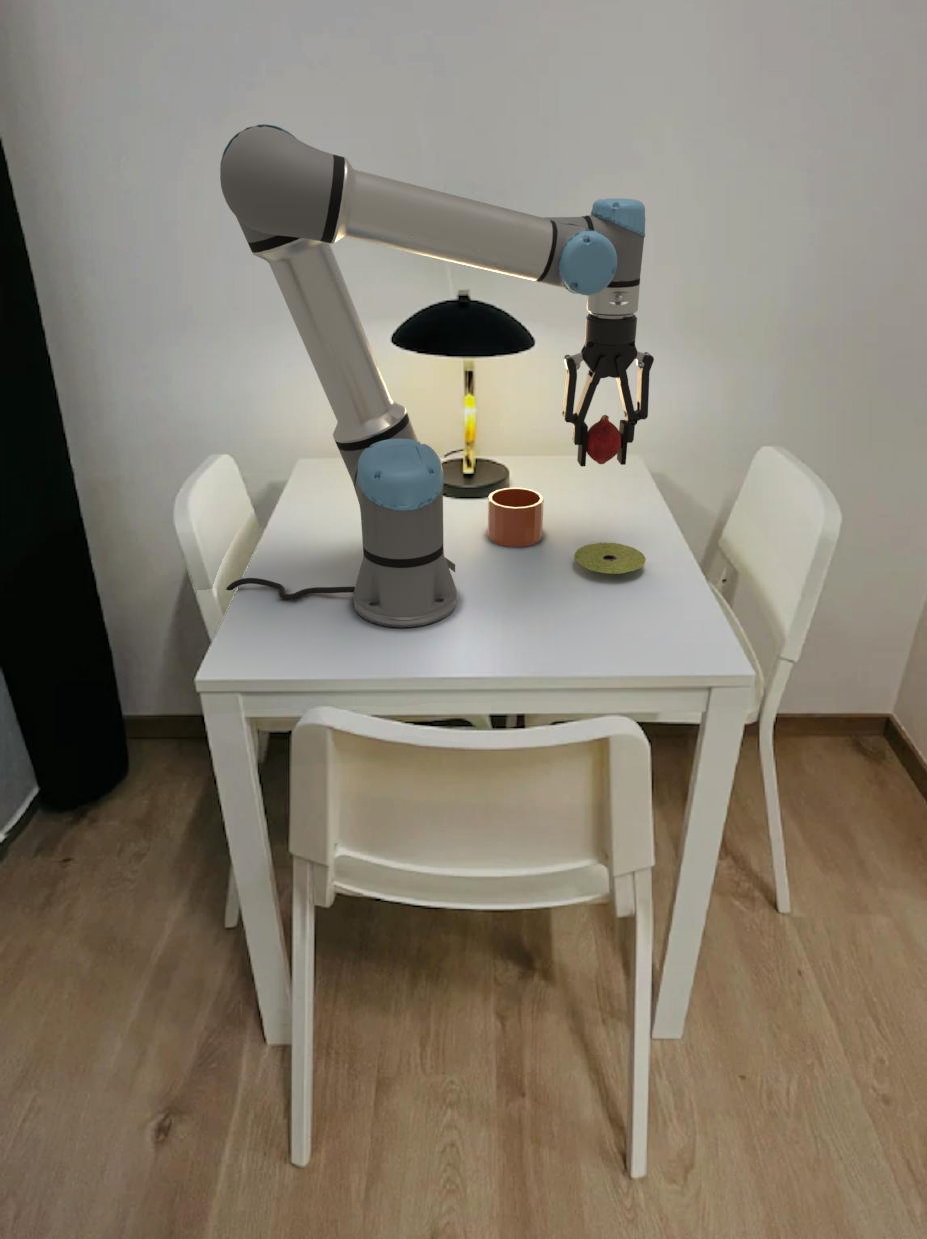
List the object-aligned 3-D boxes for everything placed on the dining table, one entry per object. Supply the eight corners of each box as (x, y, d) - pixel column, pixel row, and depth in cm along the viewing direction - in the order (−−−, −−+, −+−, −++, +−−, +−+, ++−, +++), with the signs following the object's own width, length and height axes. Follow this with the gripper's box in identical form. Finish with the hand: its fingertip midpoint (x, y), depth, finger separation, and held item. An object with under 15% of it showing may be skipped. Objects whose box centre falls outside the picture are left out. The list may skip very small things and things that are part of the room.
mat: (640, 587, 140) (641, 576, 139) (567, 579, 143) (568, 567, 142) (647, 557, 150) (649, 546, 149) (579, 549, 152) (580, 538, 151)
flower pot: (491, 548, 153) (492, 509, 149) (484, 526, 161) (485, 488, 157) (546, 545, 154) (547, 507, 150) (536, 523, 162) (537, 486, 158)
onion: (618, 471, 144) (622, 422, 140) (581, 469, 145) (584, 420, 141) (620, 459, 149) (624, 411, 145) (585, 457, 150) (587, 409, 146)
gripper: (553, 320, 131) (547, 473, 143) (681, 317, 133) (665, 468, 144) (544, 310, 138) (539, 457, 149) (666, 307, 139) (651, 452, 151)
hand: (601, 462), depth 147 cm, fingers closed on onion, 6 cm apart
